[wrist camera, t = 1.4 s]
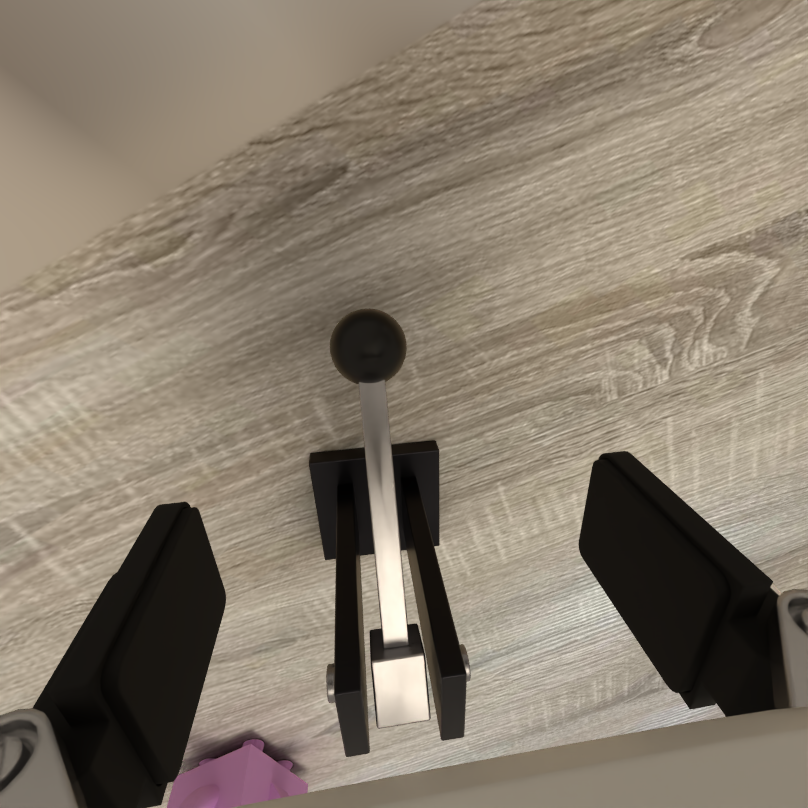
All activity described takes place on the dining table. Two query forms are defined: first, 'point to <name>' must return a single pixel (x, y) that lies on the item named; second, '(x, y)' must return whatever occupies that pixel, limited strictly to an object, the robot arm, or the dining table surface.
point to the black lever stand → (419, 532)
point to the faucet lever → (384, 515)
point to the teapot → (236, 780)
